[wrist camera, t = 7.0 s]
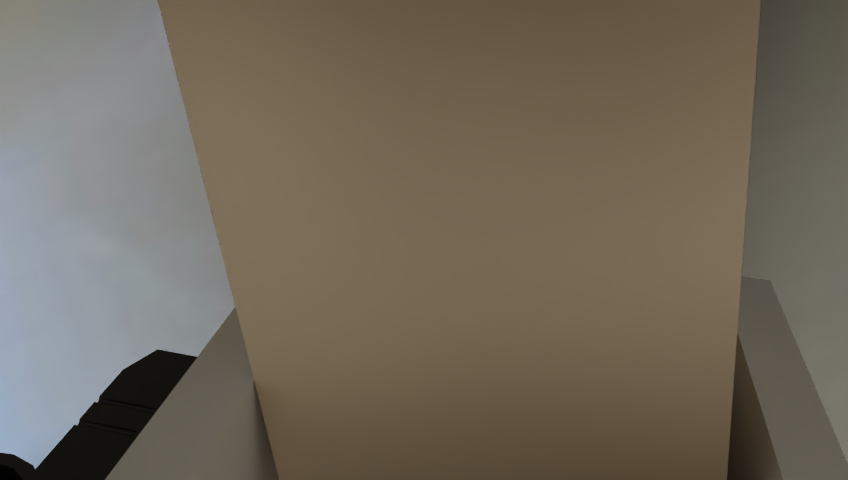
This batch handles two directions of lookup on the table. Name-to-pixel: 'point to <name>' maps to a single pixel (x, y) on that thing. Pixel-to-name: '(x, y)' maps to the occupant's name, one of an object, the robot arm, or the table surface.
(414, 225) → the rail
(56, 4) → the table surface
